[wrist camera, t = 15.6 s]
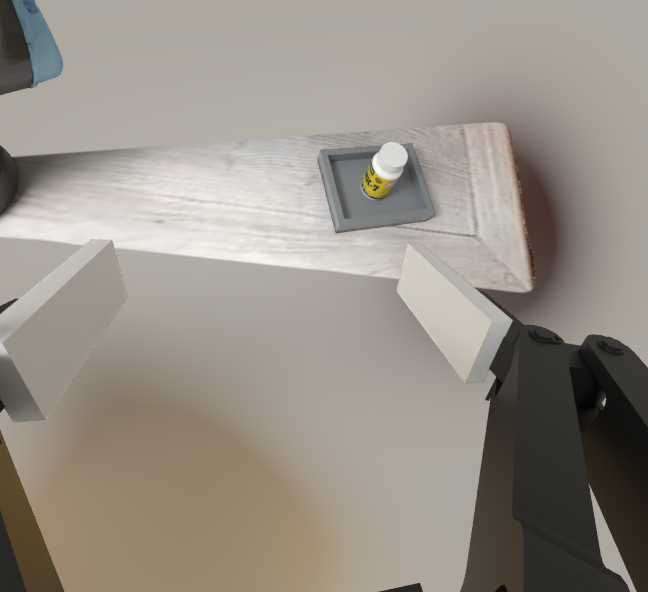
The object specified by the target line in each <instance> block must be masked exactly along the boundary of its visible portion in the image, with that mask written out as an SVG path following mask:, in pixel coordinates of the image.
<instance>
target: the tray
mask: <svg viewBox="0 0 648 592" xmlns="http://www.w3.org/2000/svg"><path fill="white" fill-rule="evenodd" d="M400 145H402V146H403V147H404V148H405V150H406V151H407V154H408V159H407V162H406V164H405V165H404V167H403V172H402V174H401V176H400V177H399V179H398V180H397V181H396V183H395V184H394V186H393V187H392V189H391V190H390V191H389V193H388V194H387V196H386V197H385V198H383V199H381V200H377V201H375V200H371V199H369V198H367V197H366V196H365V195H364V194H363V192H362V190H361V186H360V185H361V181H362V178H363V176H364V174H365V173H366V171H367V169H368V167H369V165H370V163H371V161H372V159H373V157H374V156H375V154H376V153H378V152H379V151H380V150H381V148H382V146H369V147H355V148H341V149H327V150H320V153H319V157H318V164H319V168H320V172H321V176H322V180H323V184H324V188H325V192H326V196H327V200H328V204H329V208H330V212H331V216H332V220H333V224H334V228H335V232H336V233H341V232H348V231H356V230H363V229H370V228H378V227H385V226H393V225H400V224H407V223H415V222H422V221H427V220H428V219H429V218H430V217H432V216H433V215H434V214H435V213H434V210H433V207H432V203H431V200H430V197H429V194H428V191H427V188H426V185H425V182H424V179H423V176H422V172H421V169H420V166H419V163H418V160H417V157H416V154H415V151H414V148H413V145H412V143H411V144H400Z"/></svg>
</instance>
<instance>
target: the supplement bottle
mask: <svg viewBox="0 0 648 592" xmlns="http://www.w3.org/2000/svg"><path fill="white" fill-rule="evenodd" d="M407 159H408V154H407V151H406V150H405V148H404V147H403V146H402V145H400V144H398V143H395V142H388V143H386V144H384V145H383V146H382V148H381V150H380V151H379V152H378V153H376V154H375V156H374V157H373V159H372V161H371V163H370V165H369V167H368V169H367V171H366V173H365V174H364V176H363V178H362V181H361V185H360V186H361V190H362V192H363V194H364V195H365V196H366V197H367V198H369V199H371V200H375V201H377V200H381V199H383V198H385V197H386V196H387V194H388V193H389V191H390V190H391V189H392V187H393V186H394V184H395V183H396V181H397V180H398V179H399V177H400V176H401V174H402V172H403V167H404V165H405V164H406V162H407Z"/></svg>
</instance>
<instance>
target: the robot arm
mask: <svg viewBox="0 0 648 592" xmlns="http://www.w3.org/2000/svg"><path fill="white" fill-rule="evenodd" d="M62 69H63V61H62V57H61V54H60V51H59V49H58V46H57V45H56V42H55V40H54V38H53V35H52V33H51V31H50V29H49V27H48V25H47V23H46V21H45V19H44V17H43V15H42V13H41V12H40V10H39V8H38V7H37V6H36V4H35V0H0V95H3V94H6V93H10V92H14V91H18V90H22V89H26V88H34V87H36V86H37V85H38V83H41V82H43V81H46V80H49V79H52V78H55V77H57V76H58V75H60V74H61V72H62ZM17 182H18V174H17V168H16V165H15V163H14V161H13V159H12V157H11V156H10V154H9V153H8V152H7V151H6V150H5V149H4V148H3V147H2V146H0V213H1V212H2V211H3V210H4V209H5V208H6V207H7V205H8V204H9V203H10V201H11V199H12V198H13V196H14V194H15V191H16V188H17ZM397 292H398V294H399V295H400V296H401V298H402V299H403V301H404V302H405V303H406V305H407V306H408V307H409V309H410V310H411V311H412V313H413V314H414V315H415V317H416V318H417V319H418V321H419V322H420V324H421V325H422V326H423V328H424V329H425V330H426V332H427V333H428V334H429V336H430V337H431V338H432V340H433V341H434V343H435V344H436V345H437V347H438V348H439V349H440V351H441V352H442V353H443V355H444V356H445V357H446V358H447V360H448V361H449V363H450V364H451V366H452V367H453V368H454V370H455V371H456V372H457V374H458V375H459V376H460V378H461V379H462V380H463V382H464V383H465V384H466V383H477V382H484V380H485V378H486V376H487V373H488V371H489V369H490V370H491V371H492V372H493V373H494V374H495V376H496V379H495V381H494V383H493V385H492V387H491V389H490V391H489V393H488V395H487V397H486V399H485V400H488V401H489V399H490V398H491V399H490V407H489V414H488V420H487V427H486V434H485V441H484V449H483V456H482V463H481V470H480V477H479V484H478V491H477V499H476V505H475V512H474V519H473V526H472V533H471V541H470V548H469V555H468V561H467V569H466V574H465V578H464V583H463V585H462V588H461V591H460V592H630V591H629V588H628V586H627V584H626V583H625V581H624V580H623V579H622V577H621V576H620V575H618V574H616V573H615V572H613V571H611V570H609V569H607V568H606V567H605V566H604V564H603V561H602V558H601V554H600V548H599V542H598V536H597V531H596V524H595V518H594V512H593V506H592V500H591V495H590V488H589V484H590V487H591V489H592V491H593V493H594V496H595V498H596V500H597V502H598V505H599V507H600V509H601V512H602V514H603V516H604V518H605V521H606V523H607V525H608V528H609V530H610V532H611V534H612V536H613V539H614V541H615V543H616V546H617V548H618V550H619V552H620V555H621V557H622V559H623V562H624V564H625V566H626V569H627V571H628V573H629V575H630V578H631V580H632V582H633V584H634V587H635V589H636V591H637V592H648V368H647V366H646V365H645V364H644V363H643V362H642V361H641V360H640V358H639V357H638V356H637V355H636V354H635V353H634V352H633V351H632V350H631V349H630V348H629V347H627V346H626V345H624V344H622V343H621V342H620V341H618V340H616V339H615V340H614V339H613V338H611V337H605V336H602V335H594V334H593V335H588V336H587V338H586V339H585V340H584V342H583V344H582V345H581V346H579V345H573V344H567V343H564V341H563V339H562V338H561V337H559V336H558V335H557V334H555V333H554V332H552V331H550V330H548V329H545V328H543V327H539V326H535V325H523V324H522V323H521V322H520V321H519V320H517V319H516V318H515V317H514V316H513V315H511V314H510V313H509V312H508V311H507V310H505V309H504V308H502V306H501V305H499V304H498V303H496V302H495V300H493V299H492V298H491V297H490V296H489V295H487V294H486V293H484V292H482V291H480V290H478V289H476V288H474V287H473V286H472V285H471V284H469V283H468V282H467V281H466V280H465V279H464V278H462V277H461V276H460V275H459V274H458V273H457V272H455V271H454V270H453V269H452V268H451V267H450V266H448V265H447V264H446V263H445V262H444V261H442V260H441V259H440V258H439V257H438V256H437V255H435V254H434V253H433V252H432V251H431V250H430V249H428V248H427V247H426V246H425V245H424V244H423V243H407V248H406V252H405V257H404V261H403V265H402V270H401V274H400V278H399V283H398V287H397ZM127 297H128V295H127V292H126V288H125V285H124V281H123V278H122V274H121V271H120V267H119V263H118V260H117V256H116V253H115V249H114V245H113V242H112V240H90V241H89V242H88V243H86V244H85V245H84V246H83V247H82V248H81V249H79V250H78V251H77V252H76V253H74V254H73V255H72V256H71V257H69V258H68V259H67V260H66V261H64V262H63V263H62V264H61V265H60V266H58V267H57V268H56V269H55V270H54V271H52V272H51V273H50V274H49V275H47V276H46V277H45V278H44V279H43V280H41V281H40V282H39V283H38V284H36V285H35V286H34V287H33V288H32V289H30V290H29V291H28V292H27V293H25V294H24V295H23V296H22V297H21V298H19V299H14V300H12V301H10V302H8V303H6V304H3V305H1V306H0V412H1V411H2V410H3V409H4V408H5V410H6V411H7V413H8V415H9V416H10V418H11V419H12V421H13V422H26V421H36V420H37V421H38V420H46V419H47V417H48V416H49V414H50V413H51V411H52V409H53V408H54V407H55V405H56V404H57V402H58V401H59V399H60V398H61V396H62V395H63V393H64V392H65V390H66V389H67V387H68V386H69V384H70V383H71V381H72V380H73V378H74V377H75V375H76V374H77V372H78V371H79V369H80V368H81V366H82V365H83V363H84V362H85V360H86V359H87V357H88V356H89V354H90V353H91V351H92V350H93V348H94V347H95V345H96V344H97V342H98V341H99V339H100V338H101V336H102V335H103V333H104V332H105V330H106V329H107V328H108V326H109V325H110V323H111V321H112V320H113V319H114V317H115V315H116V314H117V313H118V311H119V310H120V308H121V307H122V305H123V303H124V302H125V301H126V299H127ZM605 398H606V404H605V406H603V405H602V402H603V400H604V399H605ZM0 592H64V589H63V587H62V584H61V582H60V579H59V577H58V574H57V572H56V569H55V567H54V565H53V562H52V559H51V557H50V554H49V552H48V549H47V547H46V544H45V542H44V539H43V536H42V534H41V531H40V529H39V526H38V524H37V521H36V519H35V516H34V514H33V511H32V509H31V506H30V504H29V501H28V499H27V496H26V494H25V491H24V489H23V486H22V484H21V481H20V479H19V476H18V474H17V471H16V469H15V466H14V463H13V461H12V458H11V456H10V453H9V451H8V448H7V446H6V444H5V441H4V438H3V436H2V433H1V431H0ZM380 592H423V591H422V588H421V585H420V583H417V584H413V585H408V586H403V587H399V588H394V589H389V590H385V591H380Z"/></svg>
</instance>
